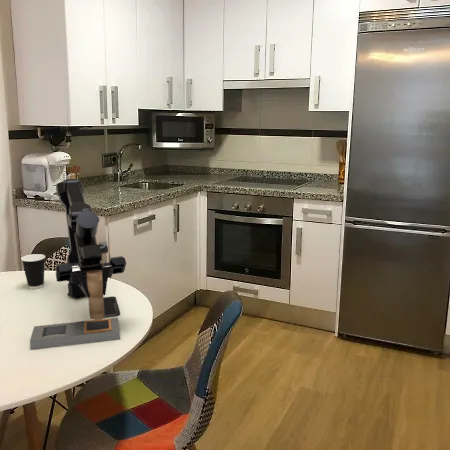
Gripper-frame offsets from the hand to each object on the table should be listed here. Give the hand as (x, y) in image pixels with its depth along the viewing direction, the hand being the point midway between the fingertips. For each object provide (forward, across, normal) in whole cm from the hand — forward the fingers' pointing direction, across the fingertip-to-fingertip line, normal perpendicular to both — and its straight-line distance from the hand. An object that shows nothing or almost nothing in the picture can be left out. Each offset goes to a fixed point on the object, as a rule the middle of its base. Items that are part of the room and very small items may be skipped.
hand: (96, 296), depth 131 cm
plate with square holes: (+7, -6, +10) cm, 13 cm away
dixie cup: (-26, -13, +44) cm, 52 cm away
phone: (-5, +6, +22) cm, 24 cm away
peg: (+4, 0, +6) cm, 7 cm away
